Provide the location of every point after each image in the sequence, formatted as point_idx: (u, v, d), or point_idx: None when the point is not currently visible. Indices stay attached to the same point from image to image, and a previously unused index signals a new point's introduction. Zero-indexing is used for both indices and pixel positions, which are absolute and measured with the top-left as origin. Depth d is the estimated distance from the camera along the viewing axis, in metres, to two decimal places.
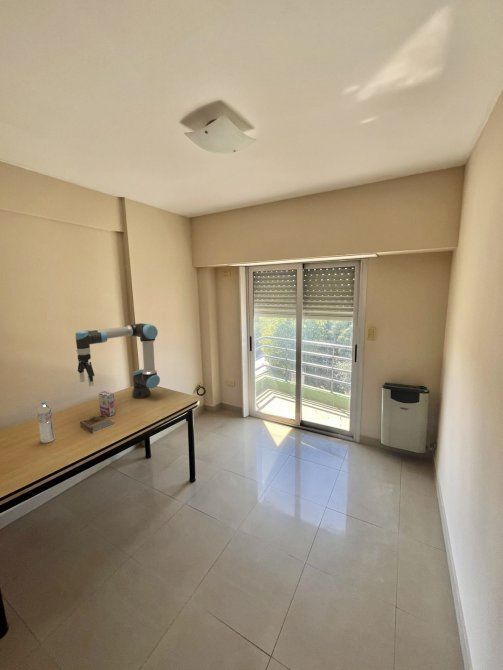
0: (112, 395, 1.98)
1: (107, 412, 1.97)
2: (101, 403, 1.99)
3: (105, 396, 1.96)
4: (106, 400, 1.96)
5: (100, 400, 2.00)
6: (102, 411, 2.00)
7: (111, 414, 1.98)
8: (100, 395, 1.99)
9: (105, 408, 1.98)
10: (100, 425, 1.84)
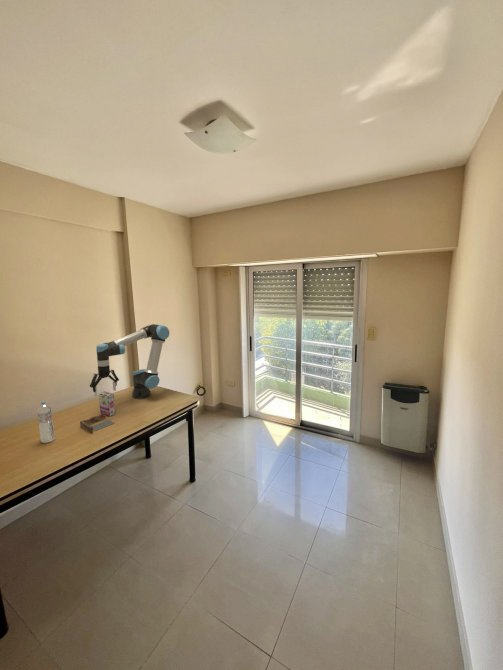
0: (112, 395, 1.98)
1: (107, 412, 1.97)
2: (101, 403, 1.99)
3: (105, 396, 1.96)
4: (106, 400, 1.96)
5: (100, 400, 2.00)
6: (102, 411, 2.00)
7: (111, 414, 1.98)
8: (100, 395, 1.99)
9: (105, 408, 1.98)
10: (100, 425, 1.84)
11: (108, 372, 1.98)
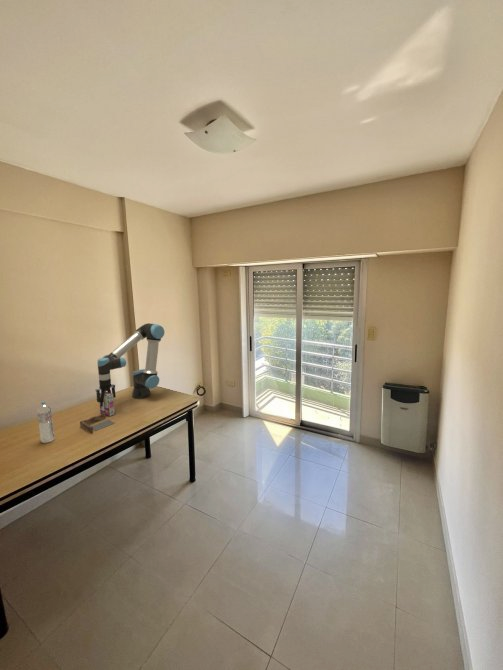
0: (112, 395, 1.98)
1: (107, 412, 1.97)
2: None
3: (105, 396, 1.96)
4: (106, 400, 1.96)
5: None
6: (102, 411, 2.00)
7: (111, 414, 1.98)
8: None
9: (105, 408, 1.98)
10: (100, 425, 1.84)
11: (109, 385, 1.99)
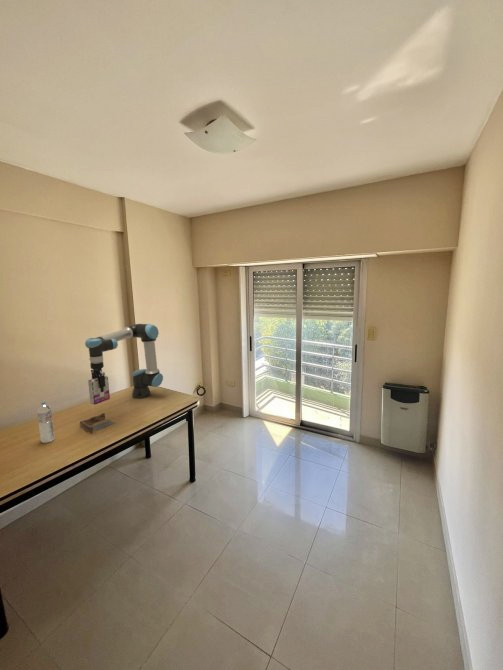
0: None
1: (107, 395, 1.83)
2: (97, 391, 1.77)
3: None
4: (105, 383, 1.82)
5: (94, 388, 1.75)
6: (98, 399, 1.78)
7: None
8: (94, 382, 1.75)
9: (104, 393, 1.81)
10: (100, 425, 1.84)
11: None
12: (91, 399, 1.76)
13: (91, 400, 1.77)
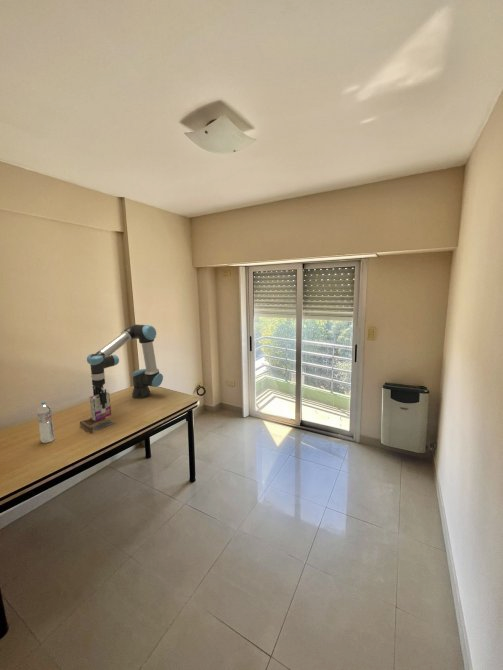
0: None
1: (108, 411, 1.85)
2: (98, 407, 1.79)
3: None
4: (107, 399, 1.84)
5: (96, 405, 1.77)
6: (100, 416, 1.80)
7: None
8: (96, 399, 1.77)
9: None
10: (100, 425, 1.84)
11: None
12: (93, 415, 1.78)
13: (92, 416, 1.79)
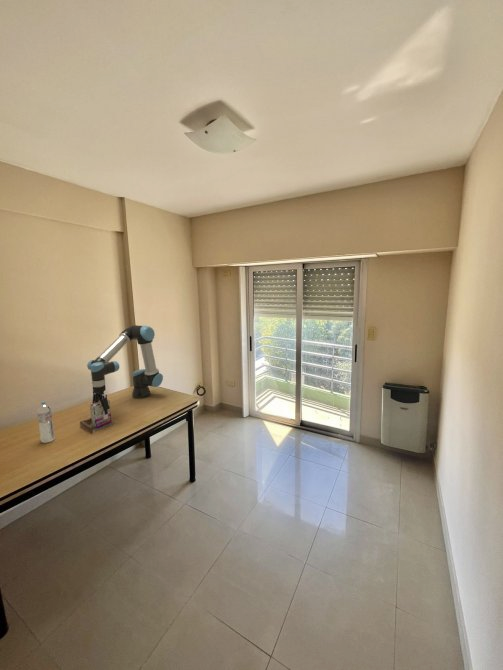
0: None
1: (108, 418, 1.87)
2: (98, 415, 1.80)
3: None
4: None
5: (96, 413, 1.79)
6: (100, 423, 1.81)
7: None
8: (96, 406, 1.78)
9: None
10: None
11: None
12: (93, 423, 1.80)
13: (93, 424, 1.80)
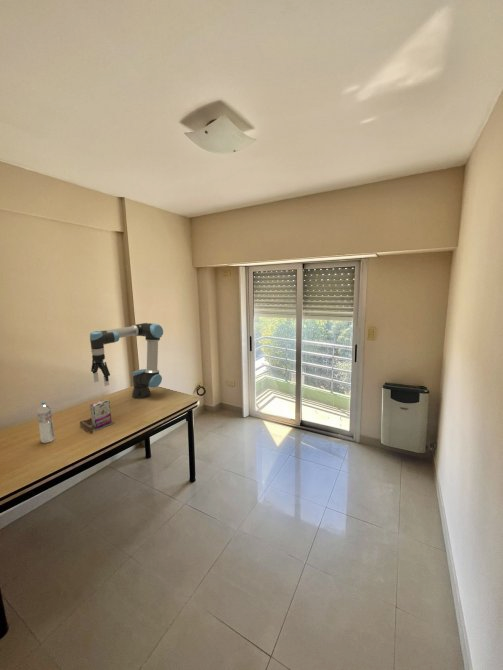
0: None
1: (108, 418, 1.87)
2: (98, 415, 1.80)
3: (105, 403, 1.84)
4: (107, 406, 1.85)
5: (96, 413, 1.79)
6: (100, 423, 1.82)
7: None
8: (96, 406, 1.78)
9: (105, 416, 1.84)
10: None
11: None
12: (93, 423, 1.80)
13: (93, 424, 1.80)
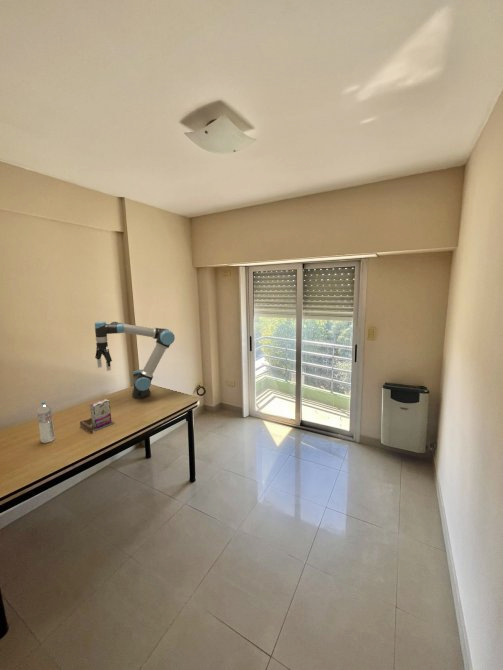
0: None
1: (108, 418, 1.87)
2: (98, 415, 1.80)
3: (105, 403, 1.84)
4: (107, 406, 1.85)
5: (96, 413, 1.79)
6: (100, 423, 1.82)
7: None
8: (96, 406, 1.78)
9: (105, 416, 1.84)
10: None
11: None
12: (93, 423, 1.80)
13: (93, 424, 1.80)
